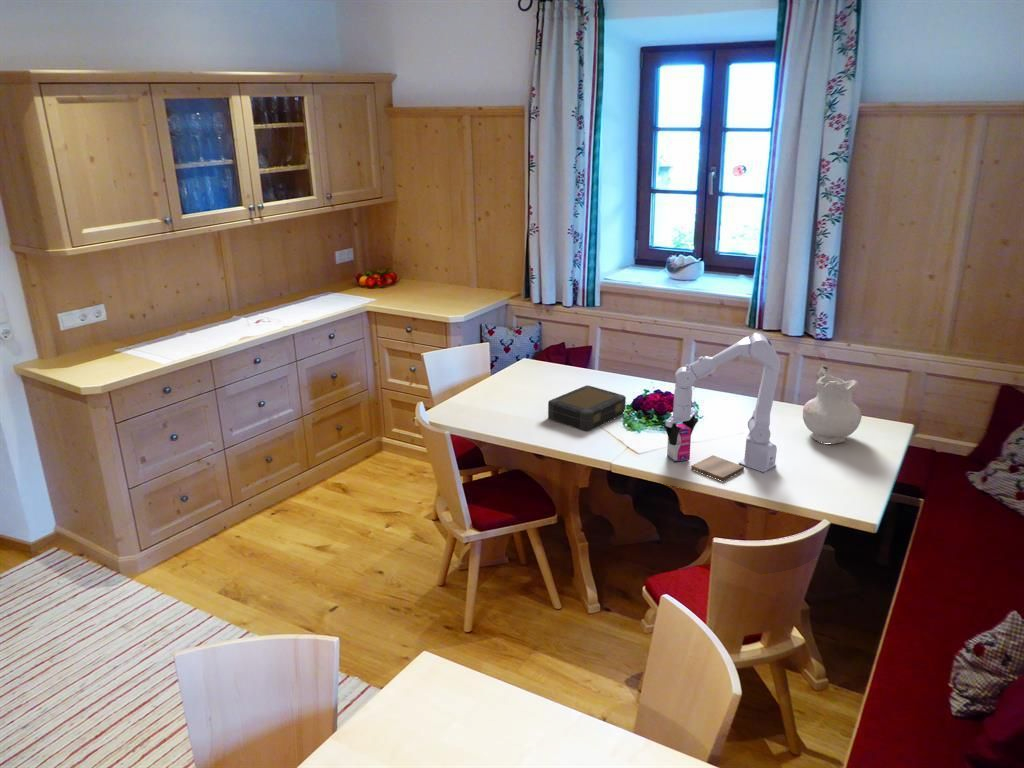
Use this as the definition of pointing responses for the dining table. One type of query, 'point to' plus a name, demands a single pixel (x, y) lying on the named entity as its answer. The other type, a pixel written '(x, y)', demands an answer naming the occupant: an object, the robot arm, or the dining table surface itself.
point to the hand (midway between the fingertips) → (679, 441)
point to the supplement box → (680, 445)
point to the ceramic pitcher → (832, 409)
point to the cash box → (586, 407)
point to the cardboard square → (717, 468)
